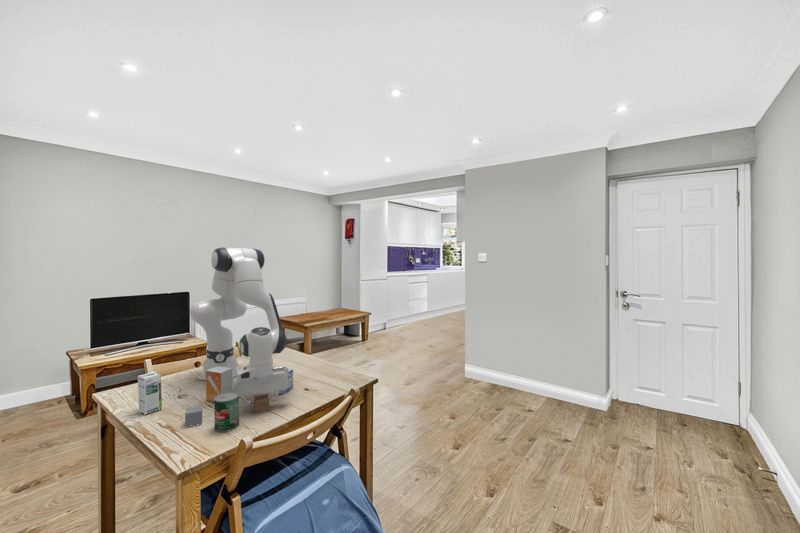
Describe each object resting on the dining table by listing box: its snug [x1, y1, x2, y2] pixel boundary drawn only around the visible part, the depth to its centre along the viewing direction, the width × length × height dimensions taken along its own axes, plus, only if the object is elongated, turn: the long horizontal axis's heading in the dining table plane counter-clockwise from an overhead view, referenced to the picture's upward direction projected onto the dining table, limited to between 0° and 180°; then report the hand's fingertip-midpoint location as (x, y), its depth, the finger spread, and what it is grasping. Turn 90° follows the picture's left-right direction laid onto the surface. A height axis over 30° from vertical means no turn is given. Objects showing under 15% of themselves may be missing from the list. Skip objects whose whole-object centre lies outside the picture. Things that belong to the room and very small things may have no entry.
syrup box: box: [137, 371, 163, 415], centre depth 134 cm, size 6×6×14 cm
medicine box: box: [278, 368, 294, 395], centre depth 155 cm, size 8×4×9 cm, turn 168°
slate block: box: [184, 405, 203, 427], centre depth 126 cm, size 5×5×5 cm
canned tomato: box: [213, 392, 240, 433], centre depth 123 cm, size 8×8×11 cm
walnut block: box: [253, 393, 270, 414], centre depth 137 cm, size 5×5×5 cm
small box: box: [205, 366, 233, 403], centre depth 145 cm, size 8×6×13 cm
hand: (261, 403), depth 137 cm, fingers open, 8 cm apart
